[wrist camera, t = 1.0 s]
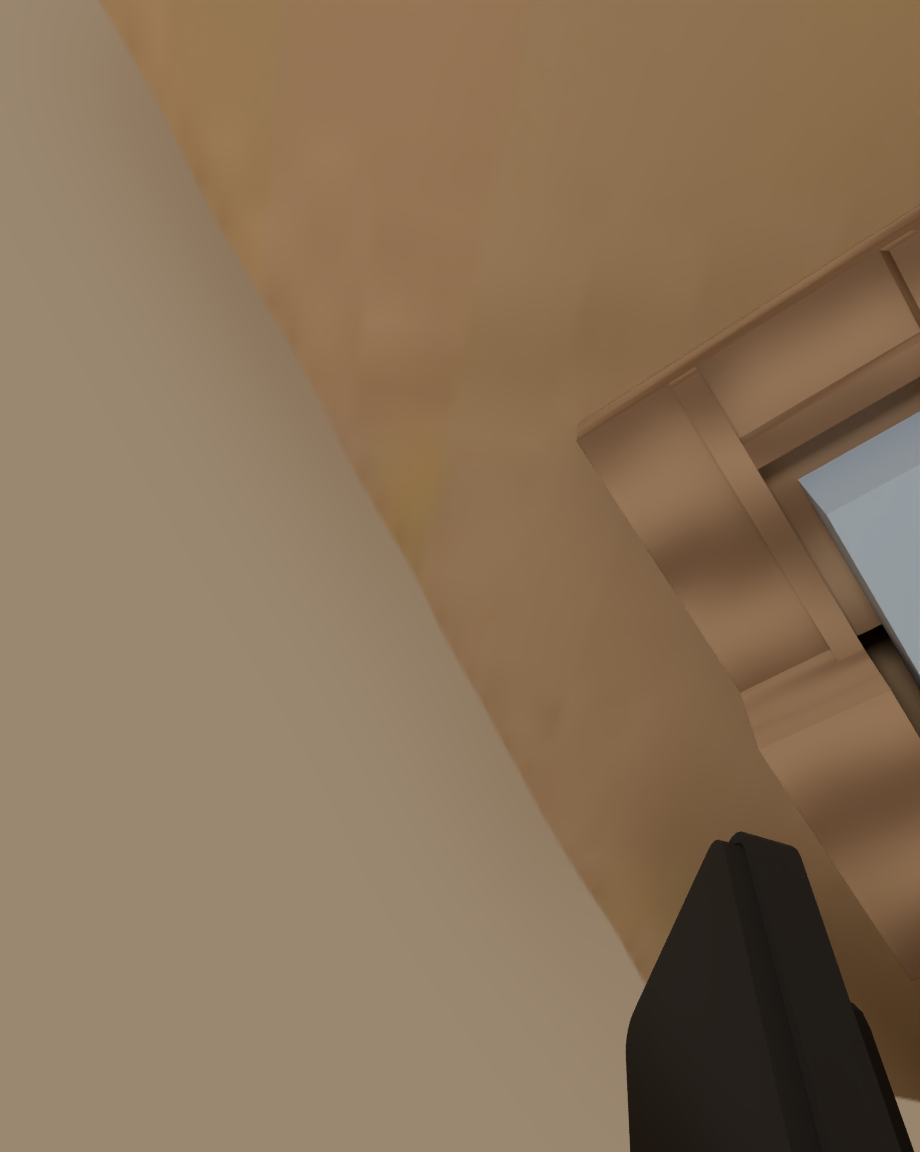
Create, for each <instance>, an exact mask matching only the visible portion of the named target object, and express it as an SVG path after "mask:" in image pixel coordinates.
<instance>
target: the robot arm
mask: <svg viewBox="0 0 920 1152" xmlns="http://www.w3.org/2000/svg"><path fill="white" fill-rule="evenodd" d="M626 1067H627V1068H626V1069H627V1090H628V1111H629V1134H630V1152H914V1150H913V1147H912V1145H911V1142H910V1139H909V1136H908V1133H907V1130H906V1128H905V1125H904V1122H903V1119H902V1117H901V1114H900V1111H899V1108H898V1105H897V1102H896V1100H895V1097H894V1094H893V1091H892V1088H891V1085H890V1083H889V1080H888V1077H887V1074H886V1071H885V1069H884V1066H883V1063H882V1060H881V1057H880V1055H879V1052H878V1049H877V1046H876V1043H875V1040H874V1038H873V1035H872V1032H871V1029H870V1027H869V1025H868V1023H867V1021H866V1019H865V1017H864V1015H863V1013H862V1012H861V1011H860V1010H859V1009H858V1008H857V1007H856V1006H855V1005H854V1004H853V1003H851V1002H850V1000H849V997H848V994H847V991H846V988H845V985H844V982H843V979H842V976H841V973H840V970H839V967H838V964H837V962H836V959H835V956H834V953H833V950H832V947H831V944H830V941H829V938H828V935H827V932H826V929H825V926H824V924H823V921H822V918H821V915H820V912H819V909H818V906H817V903H816V900H815V897H814V894H813V891H812V888H811V886H810V883H809V880H808V877H807V874H806V871H805V868H804V865H803V862H802V859H801V856H800V855H799V853H798V851H797V849H795V848H794V847H792V846H790V845H786V844H783V843H779V842H776V841H772V840H769V839H766V838H762V837H759V836H755V835H752V834H748V833H745V832H737V833H736V834H735V835H734V836H733V837H732V838H731V839H730V841H729V843H728V842H725V841H721V840H715V841H714V842H713V843H712V845H711V846H710V848H709V850H708V852H707V854H706V856H705V858H704V860H703V863H702V865H701V867H700V869H699V871H698V873H697V876H696V878H695V880H694V882H693V884H692V886H691V889H690V891H689V893H688V895H687V897H686V899H685V902H684V904H683V906H682V908H681V910H680V912H679V915H678V917H677V919H676V921H675V923H674V925H673V928H672V930H671V932H670V934H669V936H668V938H667V941H666V943H665V945H664V947H663V949H662V951H661V954H660V956H659V958H658V960H657V962H656V964H655V966H654V969H653V971H652V973H651V975H650V977H649V979H648V982H647V984H646V986H645V988H644V990H643V993H642V995H641V997H640V999H639V1001H638V1003H637V1006H636V1008H635V1010H634V1012H633V1015H632V1017H631V1020H630V1024H629V1028H628V1033H627V1040H626Z"/></svg>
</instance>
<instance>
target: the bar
mask: <svg viewBox="0 0 920 1152" xmlns="http://www.w3.org/2000/svg"><path fill="white" fill-rule="evenodd" d="M798 481H799V483H800V485H801V486H802V488H803V490H804V491H805V493H806V495H807V497H808V498H809V500H810V502H811V503H812V505H813V507H814V509H815V510H816V512H817V514H818V515H819V517H820V519H821V521H822V522H823V524H824V526H825V527H826V529H827V531H828V533H829V534H830V536H831V538H832V539H833V541H834V543H835V544H836V546H837V548H838V550H839V551H840V553H841V555H842V556H843V558H844V560H845V562H846V563H847V565H848V567H849V568H850V570H851V572H852V574H853V575H854V577H855V579H856V580H857V582H858V584H859V586H860V587H861V589H862V591H863V592H864V594H865V596H866V597H867V599H868V601H869V603H870V604H871V606H872V608H873V609H874V611H875V613H876V615H877V616H878V618H879V620H880V621H881V623H882V625H883V627H884V628H885V630H886V632H887V633H888V635H889V637H890V638H891V640H892V642H893V644H894V645H895V647H896V649H897V650H898V652H899V654H900V656H901V657H902V659H903V661H904V662H905V664H906V666H907V668H908V669H909V671H910V673H911V674H912V676H913V678H914V680H915V681H916V683H917V685H918V686H919V688H920V412H918V413H916V414H914V415H912V416H911V417H909V418H907V419H905V420H903V421H902V422H900V423H898V424H896V425H895V426H893V427H891V428H889V429H887V430H886V431H884V432H882V433H880V434H878V435H877V436H875V437H873V438H871V439H870V440H868V441H866V442H864V443H862V444H861V445H859V446H857V447H855V448H853V449H852V450H850V451H848V452H846V453H845V454H843V455H841V456H839V457H837V458H836V459H834V460H832V461H830V462H828V463H827V464H825V465H823V466H821V467H820V468H818V469H816V470H814V471H812V472H811V473H809V474H807V475H805V476H803V477H802V478H800V479H798Z"/></svg>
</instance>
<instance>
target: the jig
mask: <svg viewBox="0 0 920 1152" xmlns="http://www.w3.org/2000/svg"><path fill="white" fill-rule="evenodd" d="M918 412H920V205H919V206H918V207H916V208H915V209H913V210H912V211H910V212H909V213H907V214H905V215H904V216H902V217H901V218H899V219H898V220H896V221H894V222H893V223H891V224H890V225H888V226H887V227H885V228H884V229H882V230H880V231H879V232H877V233H876V234H874V235H873V236H871V237H869V238H868V239H866V240H865V241H863V242H862V243H860V244H859V245H857V246H855V247H854V248H852V249H851V250H849V251H848V252H846V253H845V254H843V255H841V256H840V257H838V258H837V259H835V260H834V261H832V262H830V263H829V264H827V265H826V266H824V267H823V268H821V269H820V270H818V271H816V272H815V273H813V274H812V275H810V276H809V277H807V278H805V279H804V280H802V281H801V282H799V283H798V284H796V285H795V286H793V287H791V288H790V289H788V290H787V291H785V292H784V293H782V294H780V295H779V296H777V297H776V298H774V299H773V300H771V301H770V302H768V303H766V304H765V305H763V306H762V307H760V308H759V309H757V310H756V311H754V312H752V313H751V314H749V315H748V316H746V317H745V318H743V319H741V320H740V321H738V322H737V323H735V324H734V325H732V326H731V327H729V328H727V329H726V330H724V331H723V332H721V333H720V334H718V335H716V336H715V337H713V338H712V339H710V340H709V341H707V342H706V343H704V344H702V345H701V346H699V347H698V348H696V349H695V350H693V351H691V352H690V353H688V354H687V355H685V356H684V357H682V358H681V359H679V360H677V361H676V362H674V363H673V364H671V365H670V366H668V367H667V368H665V369H663V370H662V371H660V372H659V373H657V374H656V375H654V376H652V377H651V378H649V379H648V380H646V381H645V382H643V383H642V384H640V385H638V386H637V387H635V388H634V389H632V390H631V391H629V392H627V393H626V394H624V395H623V396H621V397H620V398H618V399H617V400H615V401H613V402H612V403H610V404H609V405H607V406H606V407H604V408H602V409H601V410H599V411H598V412H596V413H595V414H593V415H592V416H590V417H588V418H587V419H585V420H584V421H582V422H581V423H579V424H578V431H577V443H578V444H579V446H580V447H581V449H582V451H583V452H584V454H585V455H586V457H587V458H588V460H589V461H590V463H591V464H592V466H593V467H594V469H595V470H596V472H597V474H598V475H599V477H600V478H601V480H602V481H603V483H604V484H605V486H606V487H607V489H608V490H609V492H610V493H611V495H612V497H613V498H614V500H615V501H616V503H617V504H618V506H619V507H620V509H621V510H622V512H623V513H624V515H625V516H626V518H627V520H628V521H629V523H630V524H631V526H632V527H633V529H634V530H635V532H636V533H637V535H638V536H639V538H640V539H641V541H642V543H643V544H644V546H645V547H646V549H647V550H648V552H649V553H650V555H651V556H652V558H653V559H654V561H655V562H656V564H657V566H658V567H659V569H660V570H661V572H662V573H663V575H664V576H665V578H666V579H667V581H668V582H669V584H670V585H671V587H672V589H673V590H674V592H675V593H676V595H677V596H678V598H679V599H680V601H681V602H682V604H683V605H684V607H685V608H686V610H687V612H688V613H689V615H690V616H691V618H692V619H693V621H694V622H695V624H696V625H697V627H698V628H699V630H700V631H701V633H702V635H703V636H704V638H705V639H706V641H707V642H708V644H709V645H710V647H711V648H712V650H713V651H714V653H715V654H716V656H717V658H718V659H719V661H720V662H721V664H722V665H723V667H724V668H725V670H726V671H727V673H728V674H729V676H730V677H731V679H732V681H733V682H734V684H735V685H736V687H737V688H738V690H739V691H740V693H741V696H742V699H743V702H744V706H745V709H746V712H747V715H748V718H749V721H750V724H751V727H752V730H753V733H754V737H755V740H756V743H757V746H758V749H759V751H760V752H761V754H762V755H763V757H764V759H765V760H766V762H767V763H768V765H769V766H770V768H771V769H772V771H773V772H774V774H775V775H776V777H777V778H778V780H779V781H780V783H781V784H782V786H783V787H784V789H785V790H786V792H787V793H788V795H789V796H790V798H791V799H792V801H793V803H794V804H795V806H796V807H797V809H798V810H799V812H800V813H801V815H802V816H803V818H804V819H805V821H806V822H807V824H808V825H809V827H810V828H811V830H812V831H813V833H814V834H815V836H816V837H817V839H818V840H819V842H820V843H821V845H822V847H823V848H824V850H825V851H826V853H827V854H828V856H829V857H830V859H831V860H832V862H833V863H834V865H835V866H836V868H837V869H838V871H839V872H840V874H841V875H842V877H843V878H844V880H845V881H846V883H847V884H848V886H849V887H850V889H851V891H852V892H853V894H854V895H855V897H856V898H857V900H858V901H859V903H860V904H861V906H862V907H863V909H864V910H865V912H866V913H867V915H868V916H869V918H870V919H871V921H872V922H873V924H874V925H875V927H876V928H877V930H878V931H879V933H880V934H881V936H882V938H883V939H884V941H885V942H886V944H887V945H888V947H889V948H890V950H891V951H892V953H893V954H894V956H895V957H896V959H897V960H898V962H899V963H900V965H901V966H902V968H903V969H904V971H905V972H906V974H907V975H908V977H909V978H910V980H914V979H916V978H919V977H920V738H919V736H918V734H917V733H916V731H915V729H914V728H913V726H912V724H911V723H910V721H909V719H908V718H907V716H906V714H905V713H904V711H903V709H902V708H901V706H900V704H899V703H898V701H897V699H896V698H895V696H894V694H893V693H892V691H891V689H890V688H889V686H888V685H887V683H886V682H885V680H884V678H883V677H882V675H881V674H880V672H879V671H878V669H877V668H876V666H875V665H874V663H873V662H872V660H871V659H870V657H869V655H868V654H867V652H866V651H865V649H864V648H863V646H862V644H861V643H860V641H859V639H858V638H857V636H858V635H860V634H863V633H865V632H867V631H869V630H871V629H873V628H875V627H877V626H879V625H881V624H882V623H881V621H880V620H879V618H878V616H877V615H876V613H875V611H874V609H873V608H872V606H871V604H870V603H869V601H868V599H867V597H866V596H865V594H864V592H863V591H862V589H861V587H860V586H859V584H858V582H857V580H856V579H855V577H854V575H853V574H852V572H851V570H850V568H849V567H848V565H847V563H846V562H845V560H844V558H843V556H842V555H841V553H840V551H839V550H838V548H837V546H836V544H835V543H834V541H833V539H832V538H831V536H830V534H829V533H828V531H827V529H826V527H825V526H824V524H823V522H822V521H821V519H820V517H819V515H818V514H817V512H816V510H815V509H814V507H813V505H812V503H811V502H810V500H809V498H808V497H807V495H806V493H805V491H804V490H803V488H802V486H801V485H800V483H799V481H798V479H800V478H802V477H803V476H805V475H807V474H809V473H811V472H812V471H814V470H816V469H818V468H820V467H821V466H823V465H825V464H827V463H828V462H830V461H832V460H834V459H836V458H837V457H839V456H841V455H843V454H845V453H846V452H848V451H850V450H852V449H853V448H855V447H857V446H859V445H861V444H862V443H864V442H866V441H868V440H870V439H871V438H873V437H875V436H877V435H878V434H880V433H882V432H884V431H886V430H887V429H889V428H891V427H893V426H895V425H896V424H898V423H900V422H902V421H903V420H905V419H907V418H909V417H911V416H912V415H914V414H916V413H918Z"/></svg>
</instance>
